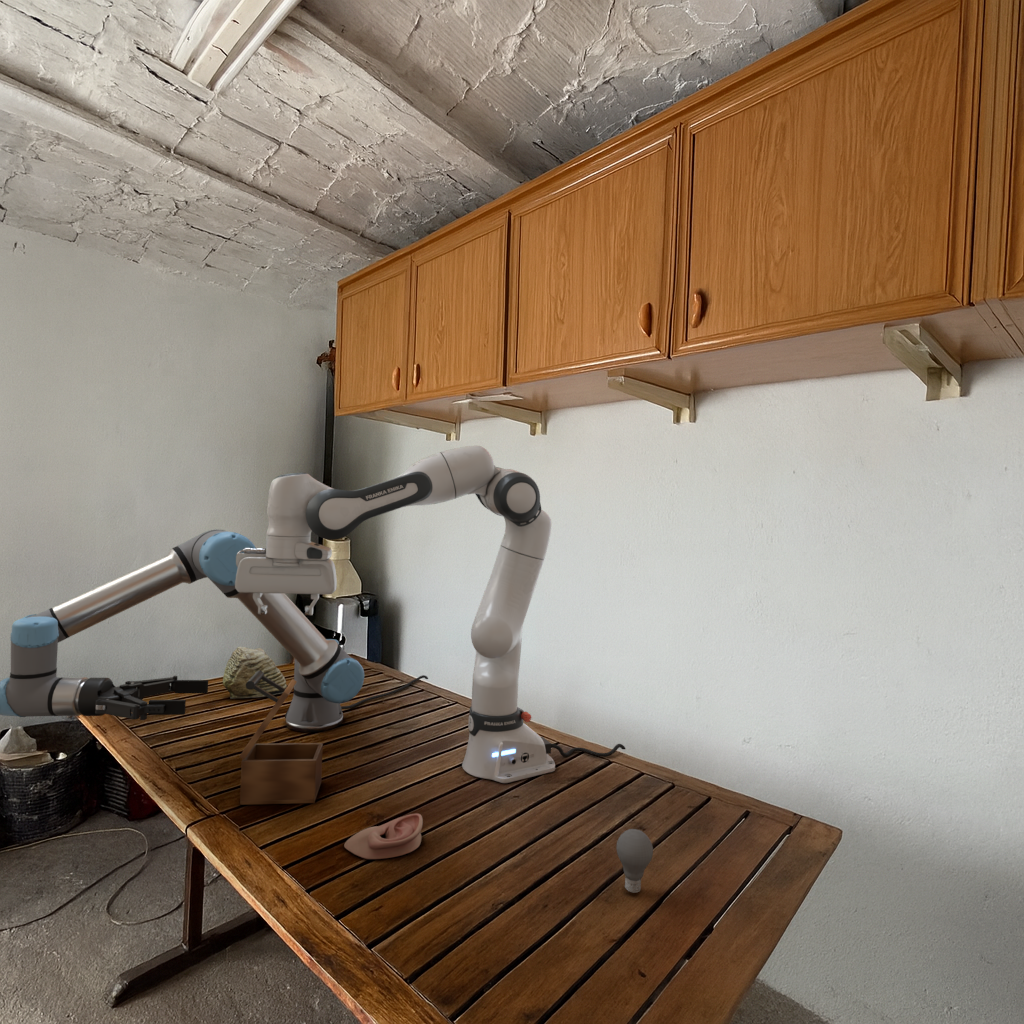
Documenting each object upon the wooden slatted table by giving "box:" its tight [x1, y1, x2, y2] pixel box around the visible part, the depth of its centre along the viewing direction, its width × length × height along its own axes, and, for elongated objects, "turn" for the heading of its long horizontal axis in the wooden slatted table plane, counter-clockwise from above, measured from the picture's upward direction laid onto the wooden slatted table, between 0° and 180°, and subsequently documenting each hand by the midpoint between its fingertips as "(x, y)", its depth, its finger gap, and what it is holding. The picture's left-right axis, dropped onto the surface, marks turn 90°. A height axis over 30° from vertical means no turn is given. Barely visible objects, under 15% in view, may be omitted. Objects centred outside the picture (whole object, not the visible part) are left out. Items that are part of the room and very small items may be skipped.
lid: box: [238, 671, 297, 760], centre depth 133 cm, size 16×9×8 cm
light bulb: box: [615, 828, 654, 894], centre depth 106 cm, size 6×6×10 cm
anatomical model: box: [343, 813, 424, 860], centre depth 117 cm, size 13×4×12 cm
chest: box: [239, 742, 324, 806], centre depth 134 cm, size 15×9×9 cm, turn 98°
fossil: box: [222, 646, 288, 699], centre depth 198 cm, size 9×18×15 cm, turn 132°
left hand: (196, 696), depth 132 cm, fingers open, 13 cm apart
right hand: (285, 614), depth 134 cm, fingers open, 8 cm apart
